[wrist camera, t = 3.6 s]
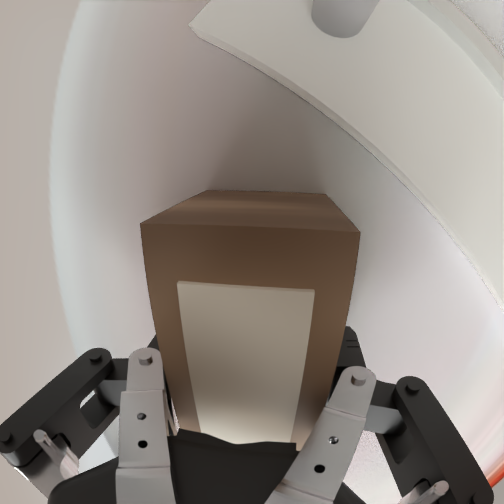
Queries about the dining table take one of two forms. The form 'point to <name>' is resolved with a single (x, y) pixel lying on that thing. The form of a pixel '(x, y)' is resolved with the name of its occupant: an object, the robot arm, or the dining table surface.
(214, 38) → the board
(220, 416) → the frame
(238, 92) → the dining table surface
